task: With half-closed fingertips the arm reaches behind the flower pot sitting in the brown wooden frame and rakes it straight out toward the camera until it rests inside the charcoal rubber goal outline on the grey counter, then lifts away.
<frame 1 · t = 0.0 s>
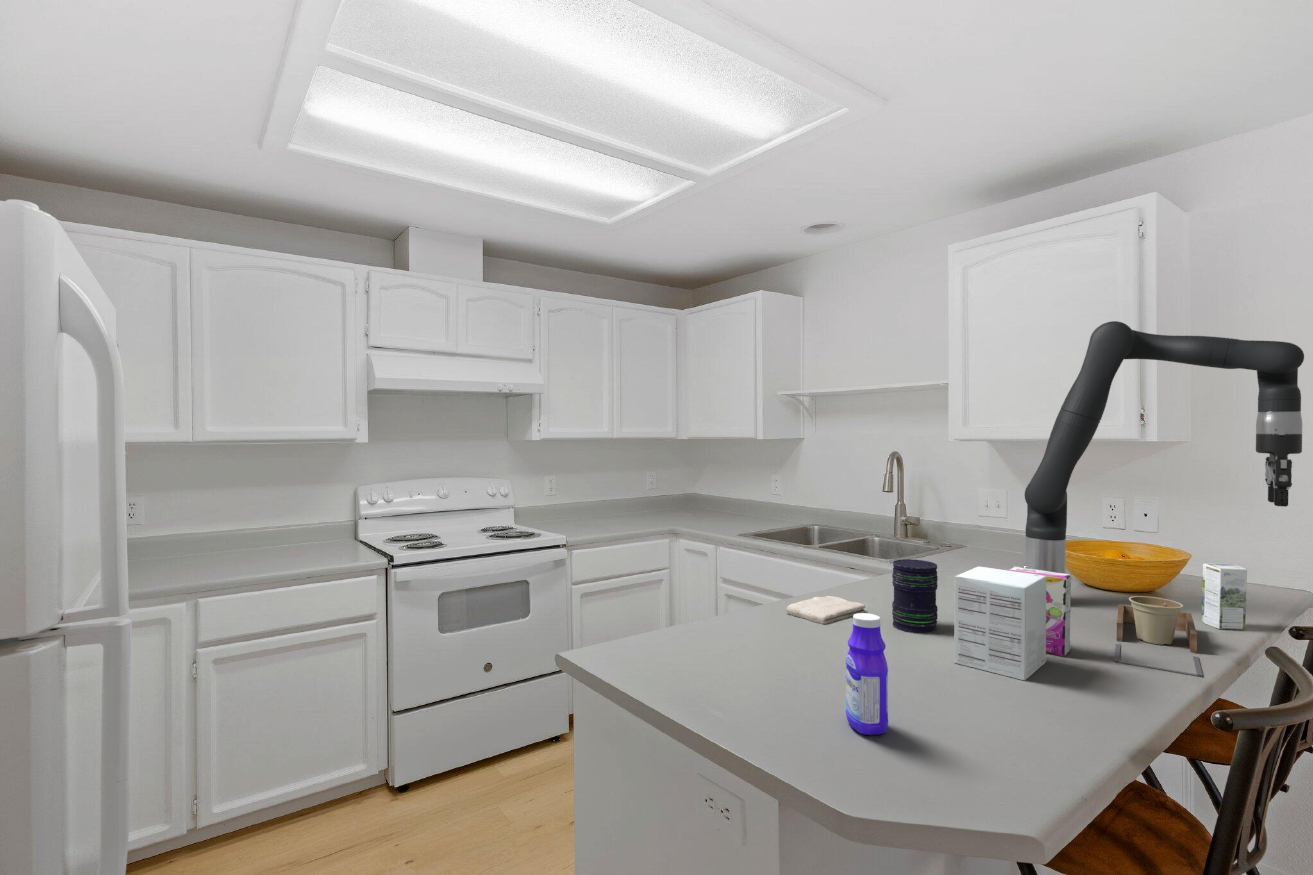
hand: (1277, 504, 146), 29 cm above the counter, fingers open, 8 cm apart
bottle: (866, 728, 101), on the counter
syrup box: (1223, 627, 152), on the counter
supplement box: (999, 664, 129), on the counter
candy bar box: (1037, 649, 137), on the counter
flower pot: (1155, 641, 142), on the counter
brown wooden frame: (1154, 635, 145), on the counter
storage jar: (914, 627, 152), on the counter
goal outline: (1156, 659, 131), on the counter
washcloth: (826, 615, 164), on the counter
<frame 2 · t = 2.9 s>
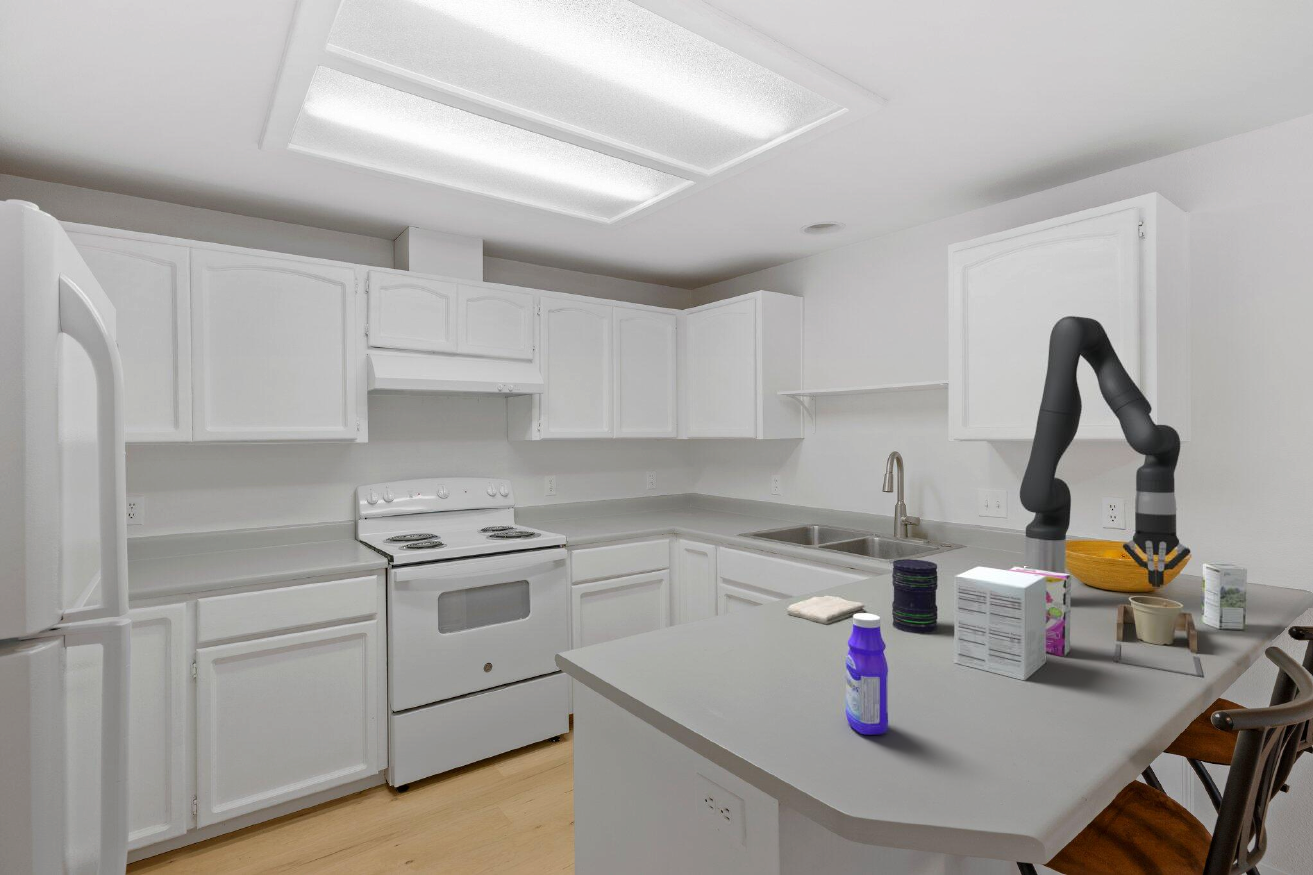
hand: (1156, 586, 150), 10 cm above the counter, fingers closed
nothing on the counter moved.
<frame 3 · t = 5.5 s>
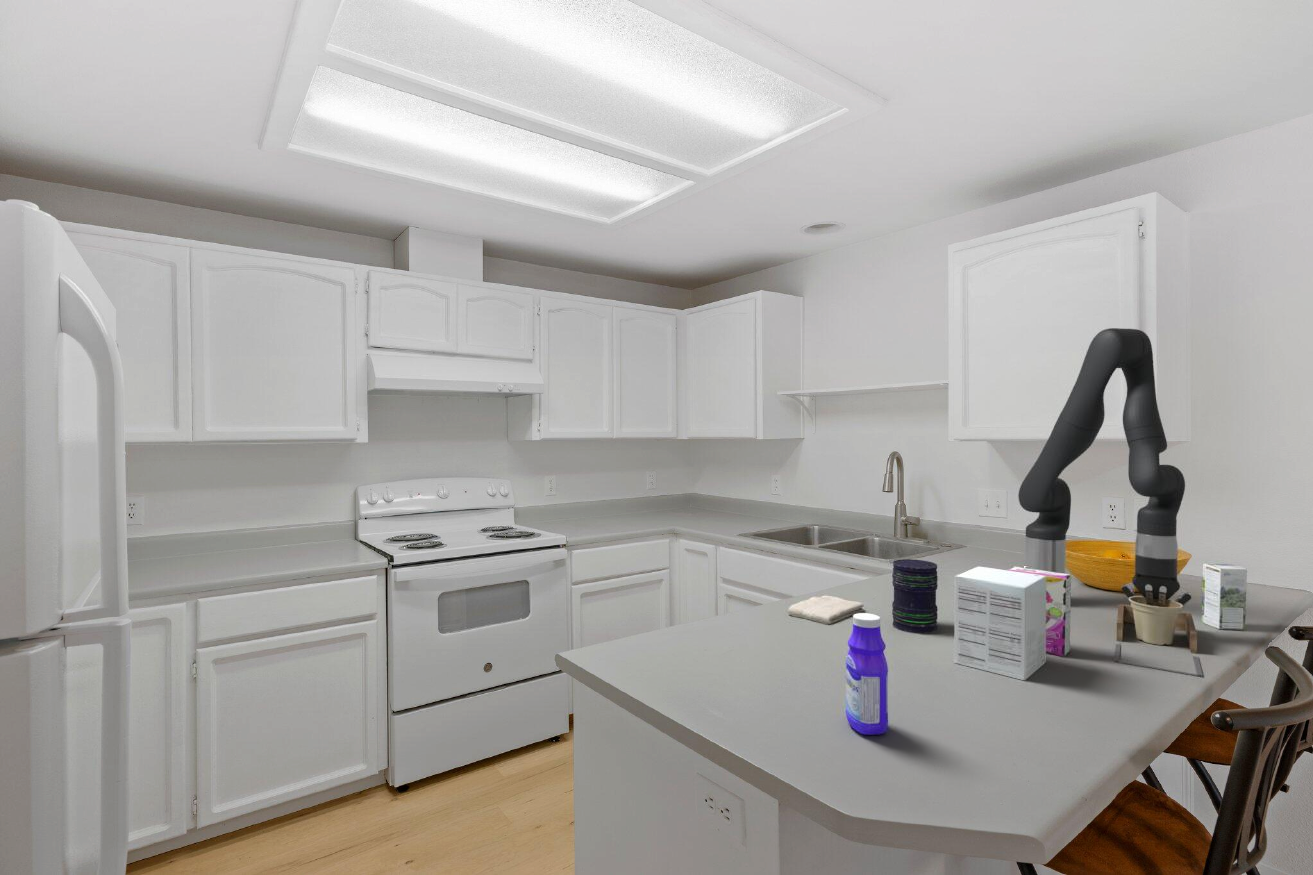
hand: (1154, 630, 145), 1 cm above the counter, fingers closed
flower pot: (1154, 641, 142), on the counter, touching gripper
everything else where it was.
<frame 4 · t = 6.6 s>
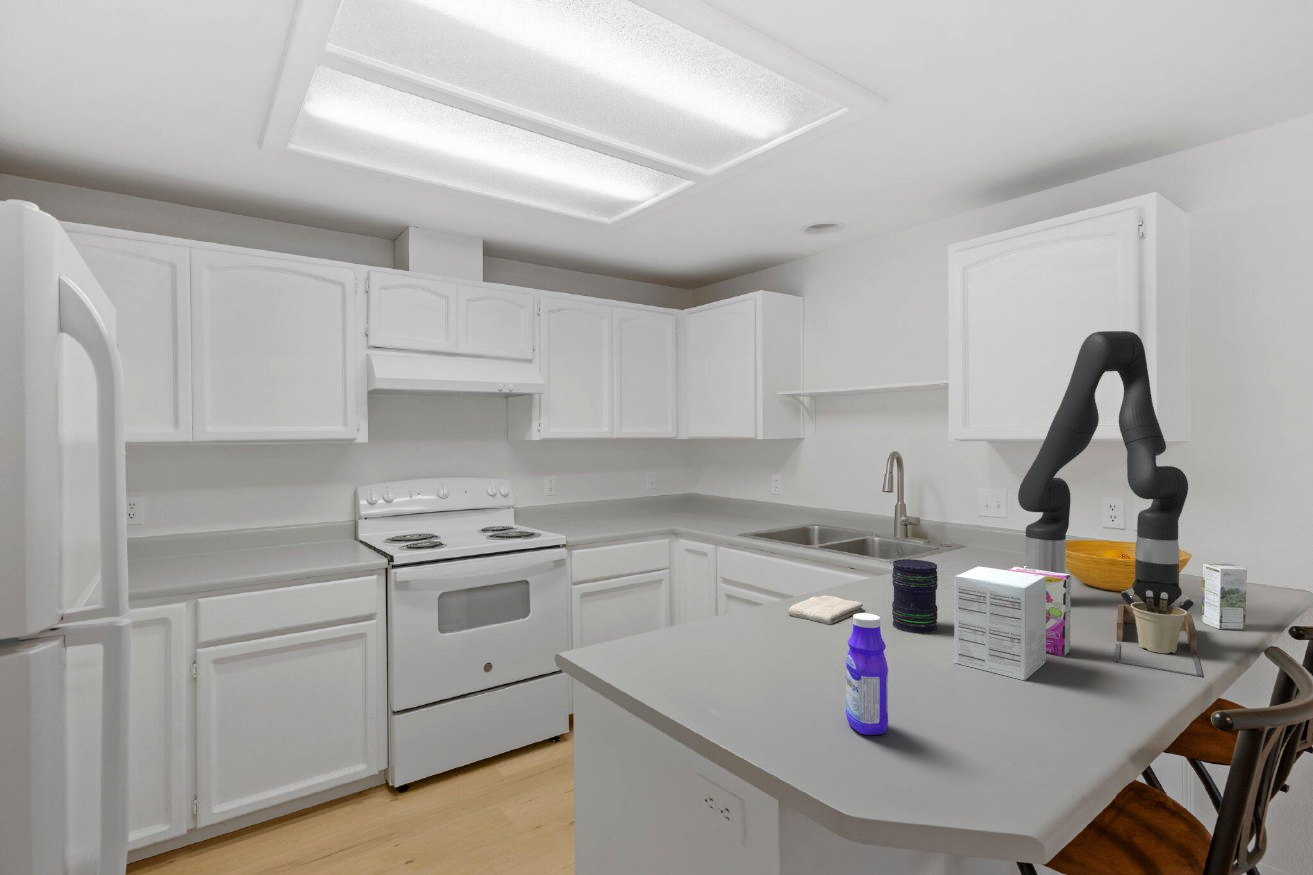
hand: (1155, 638, 140), 1 cm above the counter, fingers closed
flower pot: (1157, 649, 136), on the counter, touching gripper
everything else where it was.
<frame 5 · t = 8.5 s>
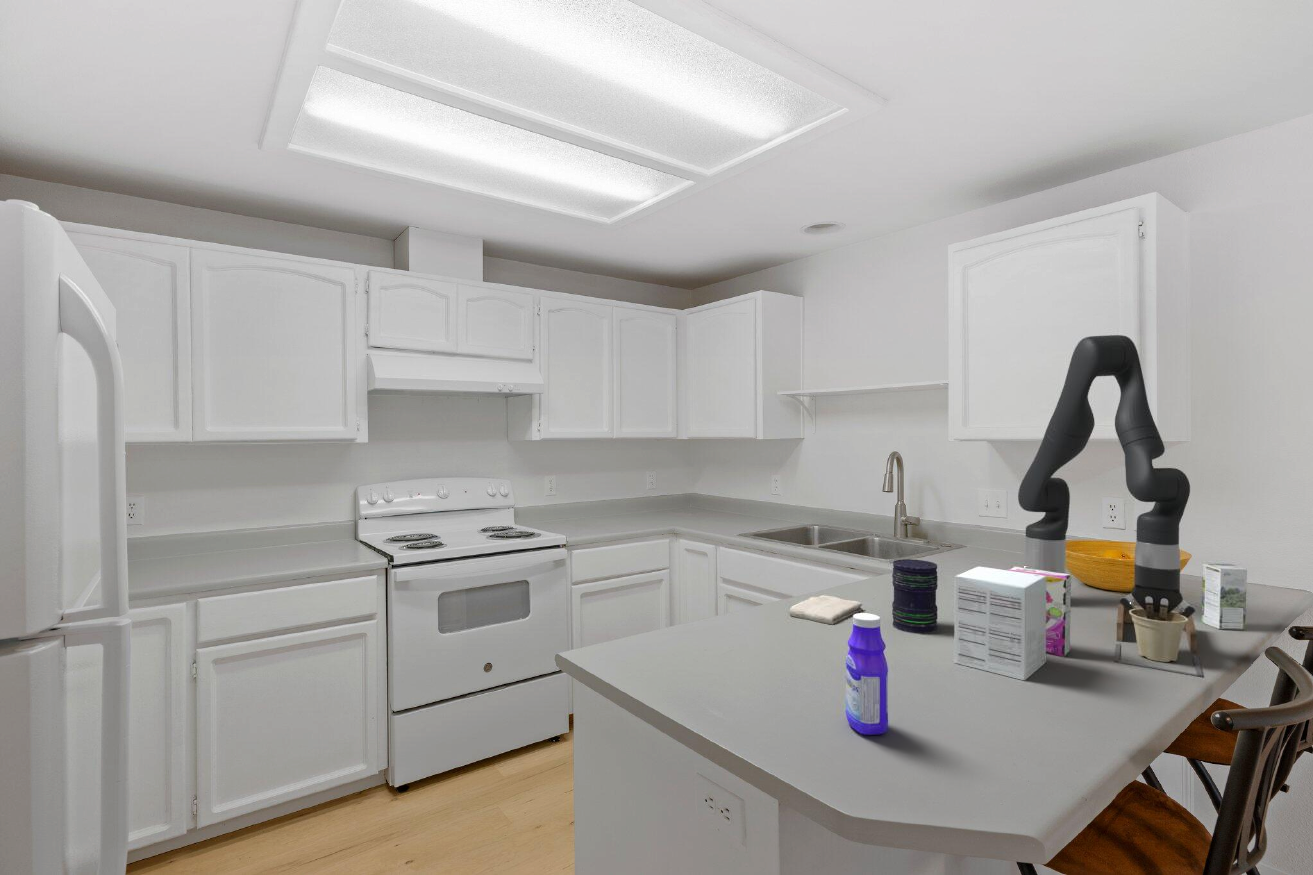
hand: (1155, 646, 136), 1 cm above the counter, fingers closed
flower pot: (1157, 658, 132), on the counter, touching gripper, hand
everything else where it was.
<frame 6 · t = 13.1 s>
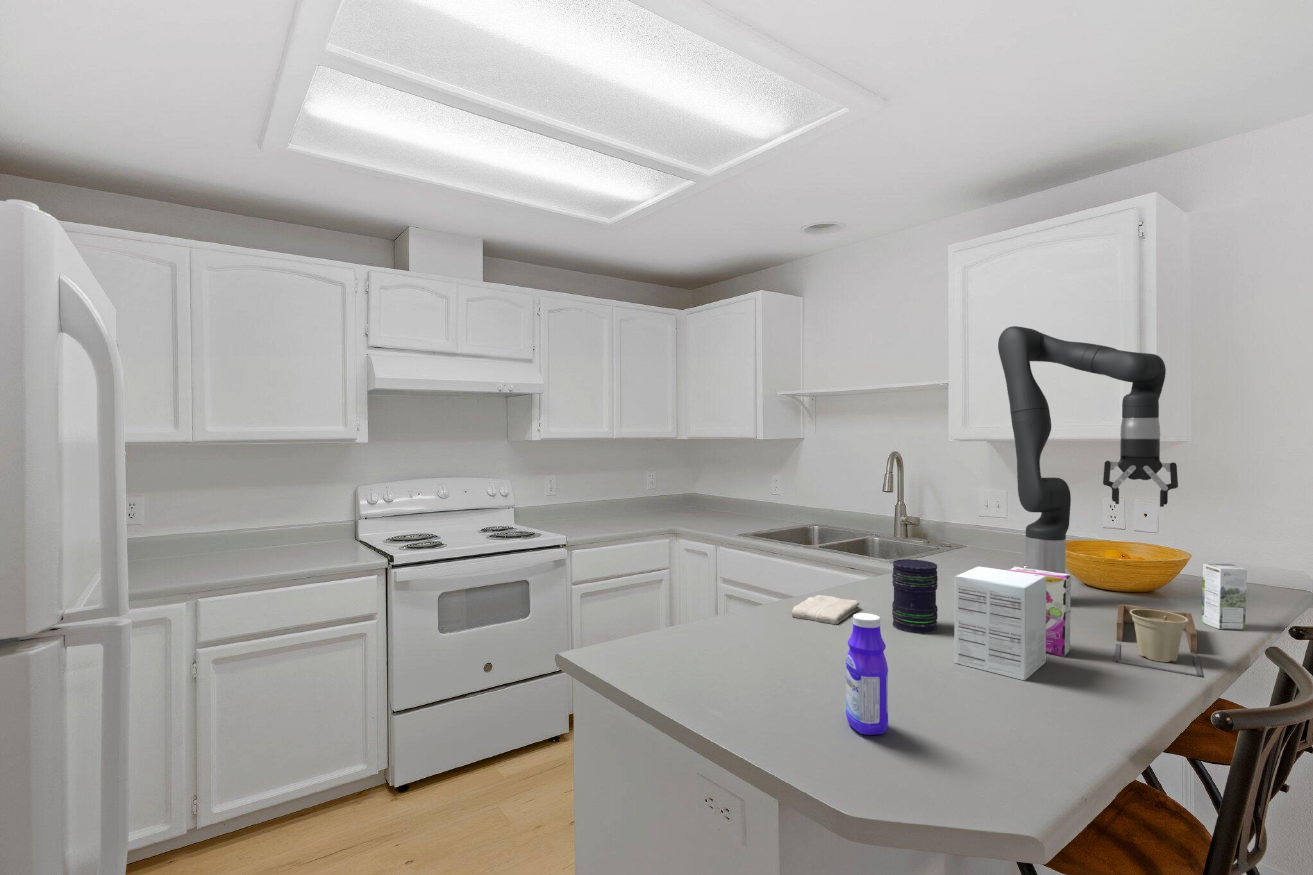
hand: (1139, 505, 154), 28 cm above the counter, fingers open, 8 cm apart
flower pot: (1157, 658, 132), on the counter
at the end: flower pot inside the target area (1.5 cm from its centre), on the counter; flower pot tilted 0°; flower pot moved 12.5 cm from its start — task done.
